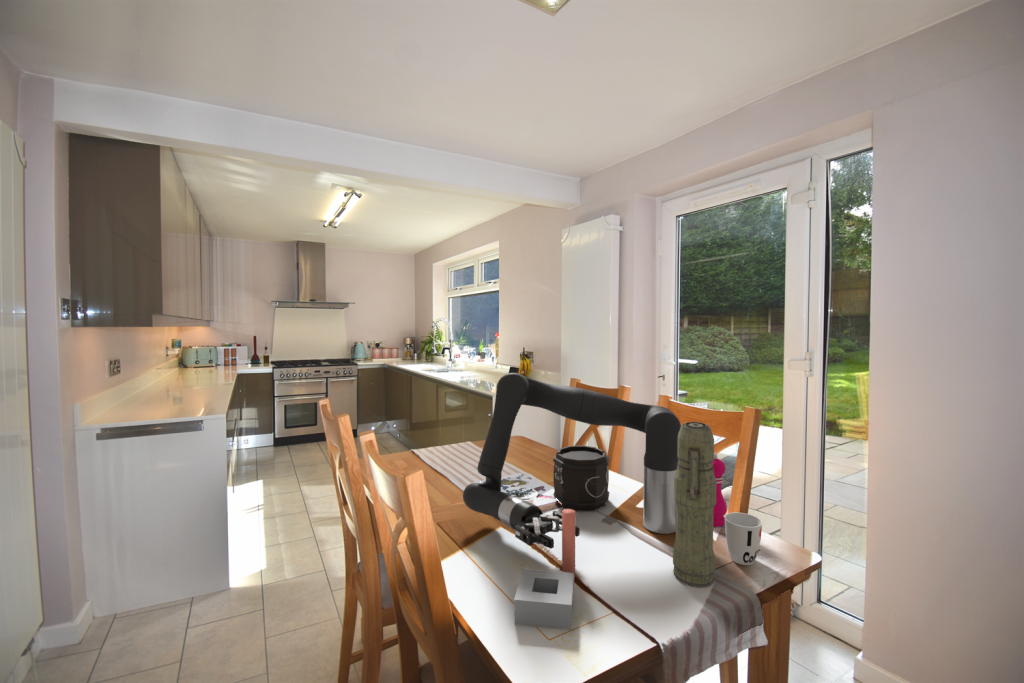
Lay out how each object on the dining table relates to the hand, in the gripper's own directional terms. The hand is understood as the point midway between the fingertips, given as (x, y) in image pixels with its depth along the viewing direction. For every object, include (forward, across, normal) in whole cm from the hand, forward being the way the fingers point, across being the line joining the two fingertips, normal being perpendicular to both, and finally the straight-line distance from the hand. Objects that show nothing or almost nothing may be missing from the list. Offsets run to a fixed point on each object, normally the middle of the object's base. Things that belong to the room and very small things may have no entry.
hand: (566, 538), depth 108 cm
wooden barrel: (-25, +34, +9) cm, 43 cm away
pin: (+1, 0, +8) cm, 9 cm away
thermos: (+20, +21, +9) cm, 30 cm away
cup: (+24, +36, +9) cm, 44 cm away
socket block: (+6, -13, +8) cm, 16 cm away
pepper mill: (+9, +50, +9) cm, 52 cm away
